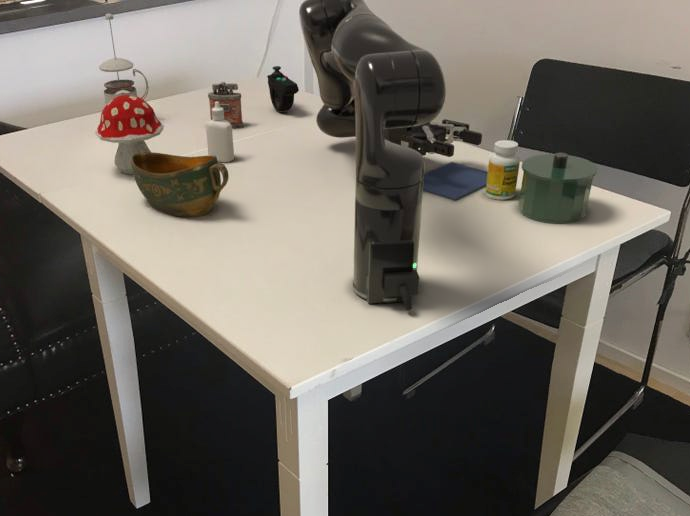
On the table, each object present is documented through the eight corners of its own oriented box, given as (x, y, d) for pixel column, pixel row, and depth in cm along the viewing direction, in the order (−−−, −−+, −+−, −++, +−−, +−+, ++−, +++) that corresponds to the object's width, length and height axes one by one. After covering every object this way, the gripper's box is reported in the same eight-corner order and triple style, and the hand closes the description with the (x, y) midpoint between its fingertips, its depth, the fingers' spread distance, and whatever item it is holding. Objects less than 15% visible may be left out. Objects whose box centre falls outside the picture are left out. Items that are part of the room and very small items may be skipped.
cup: (169, 234, 133) (162, 178, 127) (131, 197, 148) (123, 145, 142) (236, 218, 138) (232, 163, 132) (193, 183, 152) (188, 132, 147)
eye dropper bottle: (224, 153, 166) (220, 97, 160) (236, 161, 162) (232, 103, 155) (206, 157, 165) (201, 100, 158) (217, 165, 161) (213, 107, 154)
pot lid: (608, 183, 126) (612, 165, 124) (534, 187, 126) (537, 169, 124) (580, 158, 136) (583, 141, 134) (511, 162, 136) (514, 144, 134)
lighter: (208, 127, 182) (204, 84, 177) (213, 123, 185) (209, 80, 179) (240, 129, 180) (237, 85, 174) (245, 124, 183) (242, 81, 177)
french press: (102, 121, 190) (84, 12, 176) (148, 115, 192) (134, 7, 178) (107, 132, 182) (89, 19, 168) (155, 126, 185) (141, 14, 171)
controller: (282, 104, 196) (280, 63, 190) (301, 117, 186) (300, 74, 180) (266, 106, 194) (264, 65, 189) (285, 119, 185) (283, 76, 179)
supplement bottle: (499, 187, 144) (505, 136, 139) (521, 195, 141) (529, 144, 135) (478, 194, 142) (484, 142, 137) (500, 202, 138) (507, 150, 133)
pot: (595, 221, 130) (604, 179, 126) (530, 225, 130) (536, 182, 126) (571, 196, 139) (579, 156, 135) (510, 199, 139) (516, 159, 135)
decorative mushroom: (123, 186, 153) (111, 110, 144) (89, 169, 162) (77, 96, 153) (181, 168, 160) (173, 95, 151) (146, 153, 169) (136, 82, 160)
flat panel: (502, 178, 148) (502, 176, 148) (455, 200, 140) (455, 198, 140) (451, 163, 156) (451, 161, 155) (404, 184, 148) (404, 182, 147)
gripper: (376, 116, 147) (445, 134, 136) (423, 100, 154) (492, 116, 144) (374, 155, 151) (441, 175, 141) (420, 137, 158) (487, 155, 148)
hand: (467, 145), depth 142 cm, fingers open, 8 cm apart
